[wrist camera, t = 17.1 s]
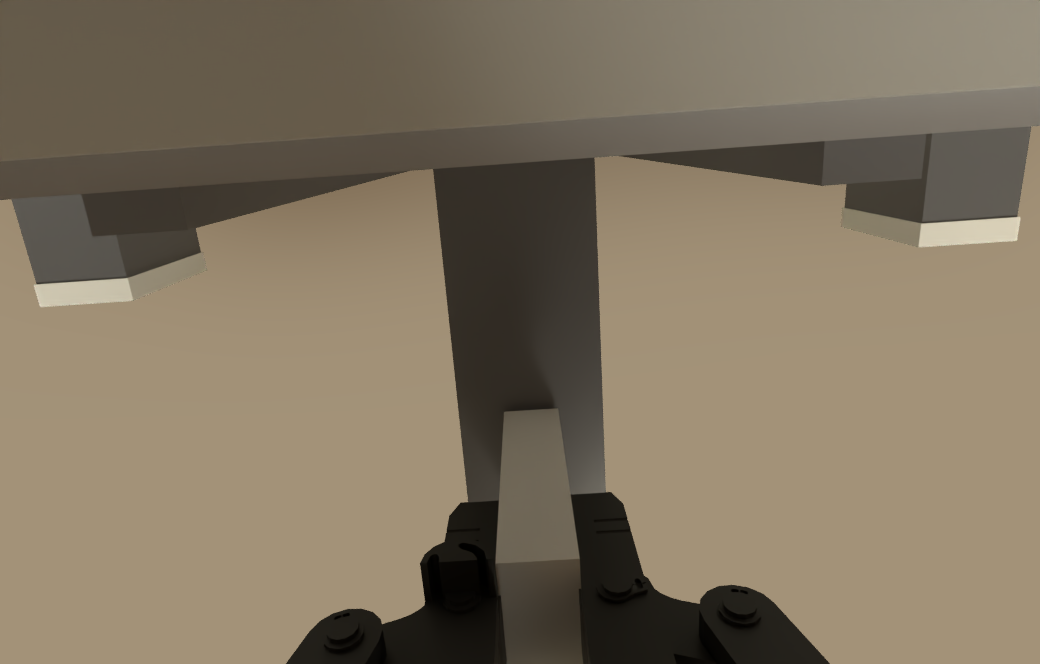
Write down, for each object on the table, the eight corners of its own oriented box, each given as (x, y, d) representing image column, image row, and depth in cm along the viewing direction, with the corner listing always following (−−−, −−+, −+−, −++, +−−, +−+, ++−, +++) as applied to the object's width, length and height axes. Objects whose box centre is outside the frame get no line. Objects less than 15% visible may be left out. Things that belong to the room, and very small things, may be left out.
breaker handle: (446, 157, 20) (492, 622, 25) (428, 161, 16) (487, 716, 21) (582, 147, 19) (600, 616, 25) (598, 149, 15) (616, 708, 20)
